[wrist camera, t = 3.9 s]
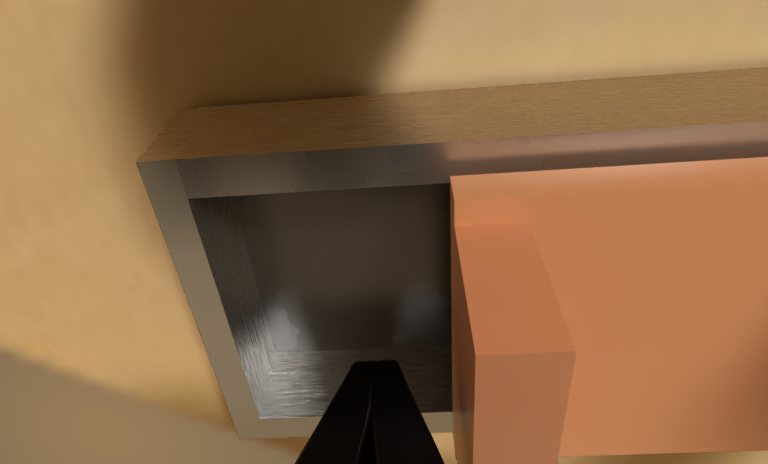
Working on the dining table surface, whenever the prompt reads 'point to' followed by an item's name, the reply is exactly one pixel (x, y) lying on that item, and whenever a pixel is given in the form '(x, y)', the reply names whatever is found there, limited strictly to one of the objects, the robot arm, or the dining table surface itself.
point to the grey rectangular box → (386, 216)
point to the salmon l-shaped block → (610, 311)
